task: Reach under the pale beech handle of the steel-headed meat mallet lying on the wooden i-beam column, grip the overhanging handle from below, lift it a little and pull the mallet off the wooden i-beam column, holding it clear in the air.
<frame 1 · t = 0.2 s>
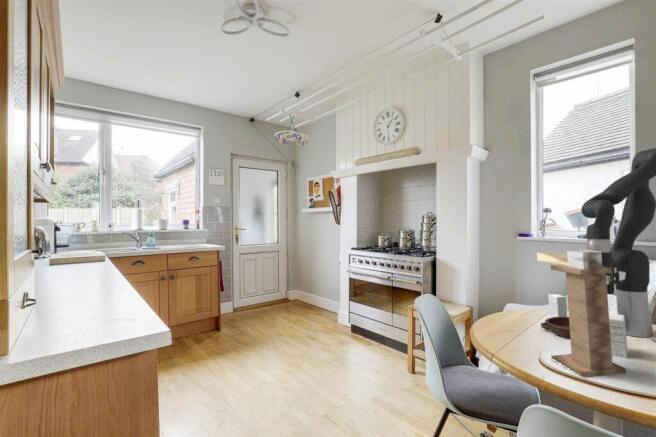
hand: (600, 292, 126), 17 cm above the table, tool pointing down, fingers open, 8 cm apart
skincare box: (558, 322, 145), on the table
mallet: (564, 264, 109), point 32 cm above the table, touching wooden i-beam column
supplement box: (613, 352, 112), on the table
dish: (573, 335, 130), on the table
wooden i-beam column: (586, 366, 103), on the table
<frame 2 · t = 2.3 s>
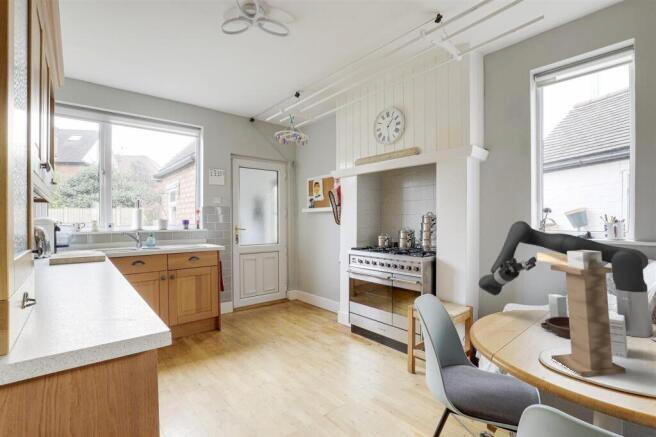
hand: (525, 259, 135), 31 cm above the table, tool pointing upward, fingers open, 8 cm apart
nothing on the table moved.
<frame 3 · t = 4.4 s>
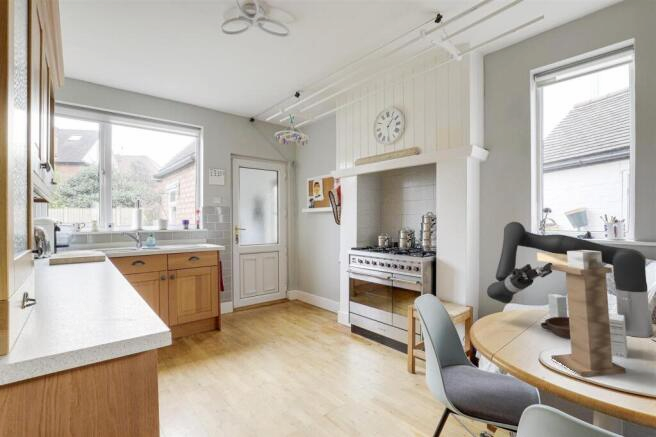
hand: (540, 265, 121), 30 cm above the table, tool pointing upward, fingers open, 8 cm apart
nothing on the table moved.
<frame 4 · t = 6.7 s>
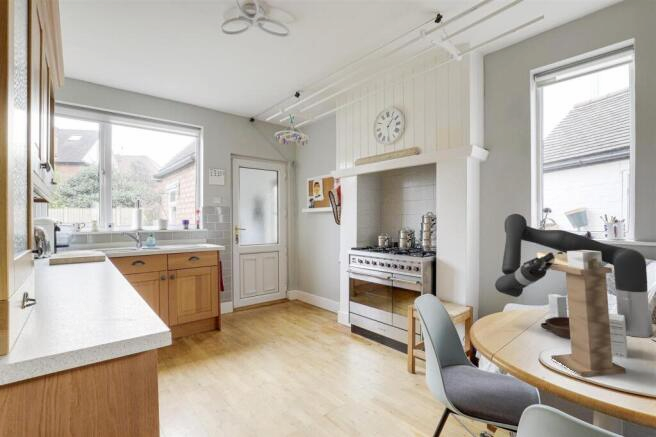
hand: (557, 254, 112), 35 cm above the table, tool pointing upward, fingers closed on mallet, 3 cm apart
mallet: (564, 264, 109), point 32 cm above the table, touching gripper, wooden i-beam column
everything else where it was.
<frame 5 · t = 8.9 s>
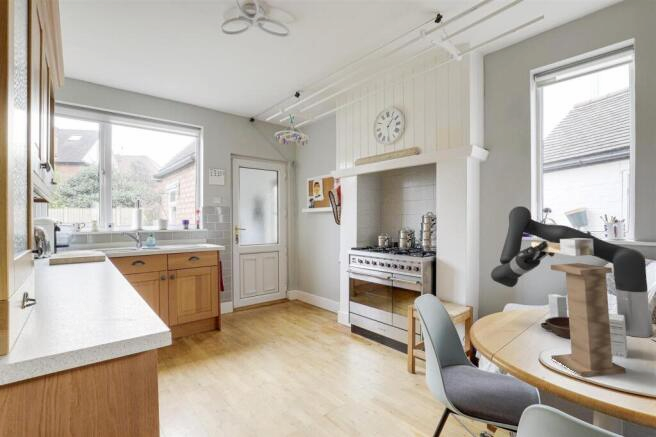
hand: (550, 243, 115), 39 cm above the table, tool pointing upward, fingers closed on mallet, 3 cm apart
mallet: (557, 252, 112), point 36 cm above the table, touching gripper
everything else where it was.
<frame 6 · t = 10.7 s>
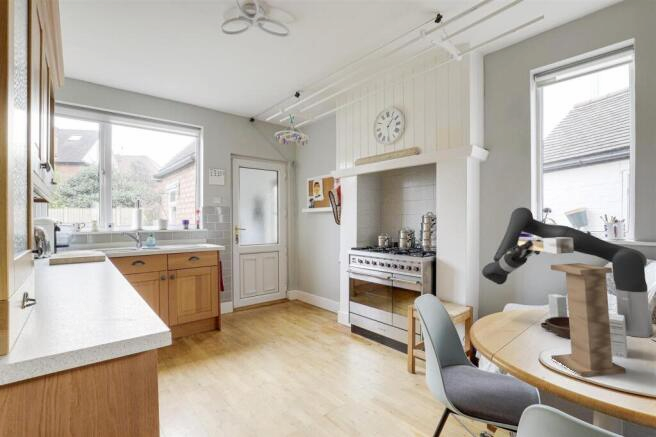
hand: (535, 242, 123), 39 cm above the table, tool pointing upward, fingers closed on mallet, 3 cm apart
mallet: (541, 250, 120), point 36 cm above the table, touching gripper
everything else where it was.
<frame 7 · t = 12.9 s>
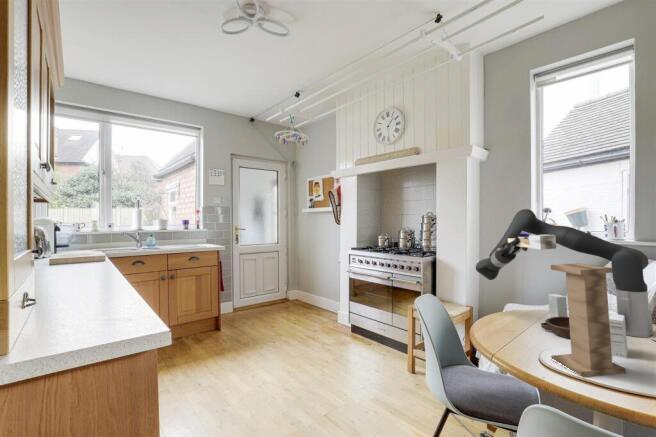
hand: (523, 239, 133), 39 cm above the table, tool pointing upward, fingers closed on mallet, 3 cm apart
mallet: (528, 246, 130), point 36 cm above the table, touching gripper
everything else where it was.
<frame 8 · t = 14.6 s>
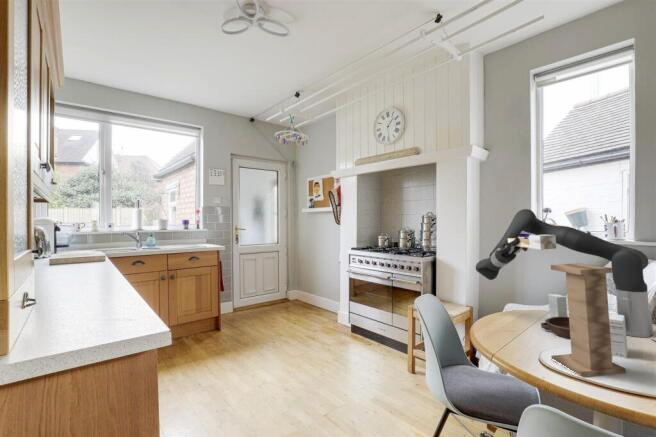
hand: (523, 239, 133), 39 cm above the table, tool pointing upward, fingers closed on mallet, 3 cm apart
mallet: (528, 246, 130), point 36 cm above the table, touching gripper
everything else where it was.
at the end: the gripper is holding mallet; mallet touching gripper; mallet inside the target area (3.1 cm from its centre), point 36.4 cm above the table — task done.
